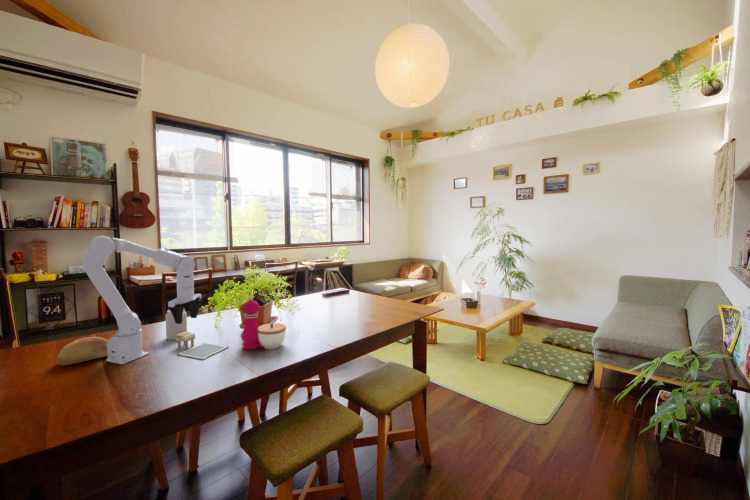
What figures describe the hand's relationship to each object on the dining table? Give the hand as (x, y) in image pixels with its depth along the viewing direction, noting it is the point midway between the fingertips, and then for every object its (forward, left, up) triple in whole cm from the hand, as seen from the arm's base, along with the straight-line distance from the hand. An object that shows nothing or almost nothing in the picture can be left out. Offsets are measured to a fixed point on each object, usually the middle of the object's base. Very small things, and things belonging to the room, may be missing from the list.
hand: (186, 320), depth 124 cm
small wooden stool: (-1, -1, -10) cm, 10 cm away
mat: (-2, -11, -10) cm, 15 cm away
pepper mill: (+8, -25, -10) cm, 28 cm away
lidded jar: (+11, -32, -10) cm, 35 cm away
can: (+5, +11, -10) cm, 15 cm away
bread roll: (-22, +20, -10) cm, 32 cm away
